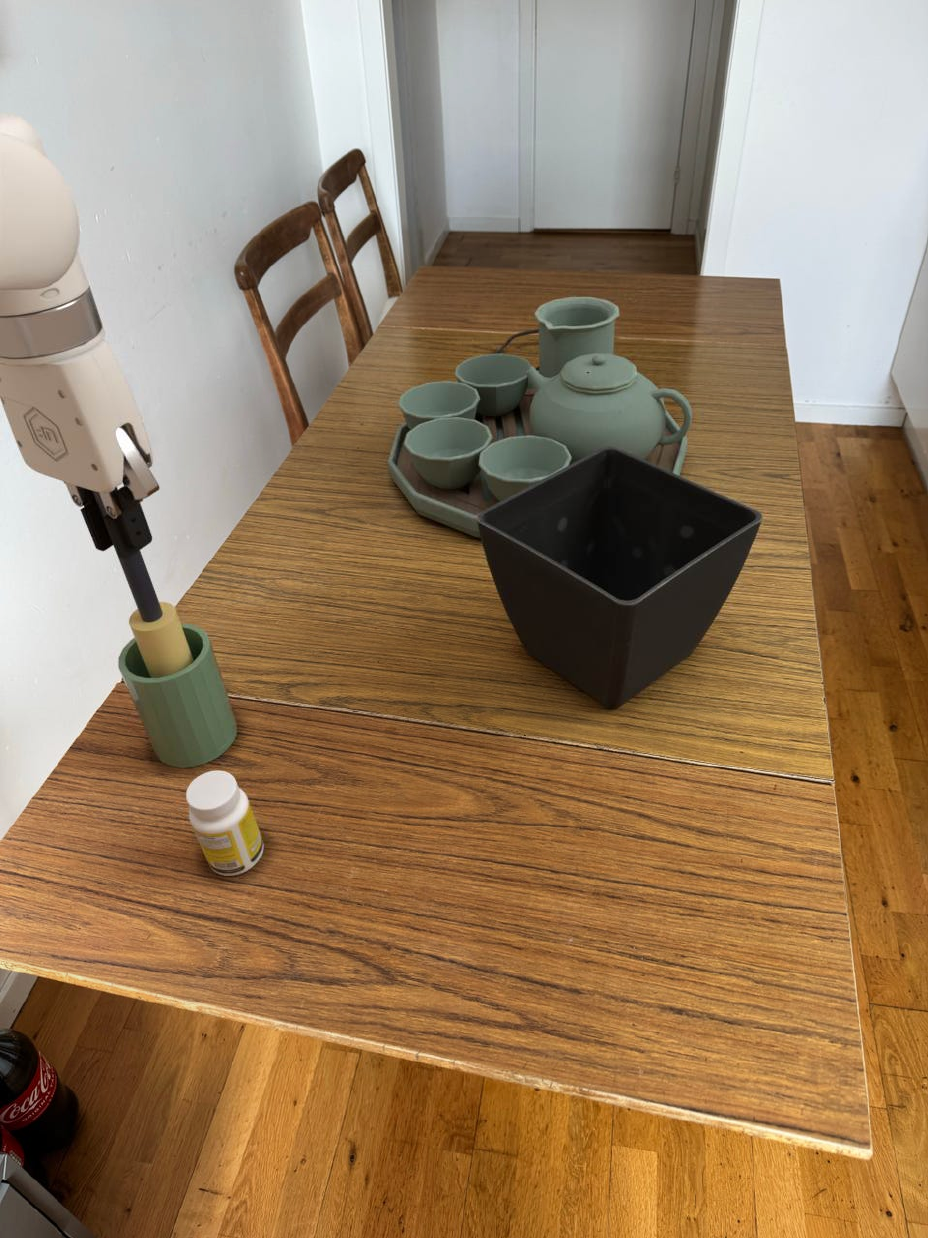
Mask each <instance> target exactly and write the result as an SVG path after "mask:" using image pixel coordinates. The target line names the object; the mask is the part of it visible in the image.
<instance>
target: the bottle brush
mask: <svg viewBox="0 0 928 1238" xmlns="http://www.w3.org/2000/svg"><path fill="white" fill-rule="evenodd" d="M118 489H119V488H118V486H117V487H115V489H114V491H115V494H116V493H117V491H118ZM93 494H94V496H95V499H96V502H97V504H98V507H99V509H100V512H101V515H102V517H104V516H106V515H107V514H108V513H107V512H106V510H105V507H104V504H103V502H102V499H101V496H100V494H99V492H96V491H93ZM103 520H104V519H103ZM104 522H105V521H104ZM105 525H106V524H105ZM106 528H107V527H106ZM107 530H108V529H107ZM108 533H109V532H108ZM109 535H110V534H109ZM110 538H111V537H110ZM112 543H113V542H112ZM112 547H113V548H114V551H115V553H116V556H117V559H118V561H119V563H120V564H119V565H120V567H121V569H122V571H123V574H124V576H125V580H126V582H127V585H128V587H129V589H130V592H131V595H132V598H133V600H134V602H135V605H136V608H137V609H135V610H134V611H133V612H132V613H131V615H130V616H129V619H128V625H129V627H130V630H131V632H132V634H133V636H134V637H133V638H135V640H136V642H137V645H138V647H139V650H140V652H141V655H142V657H143V660H144V662H145V665H146V667H147V670H148V672H149V675H150V676H151V678H160V677H164V676H169V675H172V674H174V673H177V672H179V671H181V670H183V669H185V668H186V667H188V666H189V665H190V664H192V663H193V662H194V660H193V657H192V654H191V652H190V649H189V646H188V643H187V640H186V637H185V634H184V632H183V629H182V626H181V623H182V622H181V621H180V618H179V614H178V612H177V609H176V607H175V606H174V605H173V604H172V603H170V602H168V601H167V602H166V601H159V598H158V595H157V593H156V590H155V587H154V585H153V582H152V579H151V576H150V574H149V572H148V568H147V565H146V563H145V559H144V556H143V555H142V552H141V550H139V551H138V552H136V553H135V554H134V555H132V556H131V557H129V558H128V559H122V558H119V557H118V555H117V552H116V550H115V547H114V545H113V546H112Z"/></svg>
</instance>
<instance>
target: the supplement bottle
mask: <svg viewBox="0 0 928 1238" xmlns="http://www.w3.org/2000/svg"><path fill="white" fill-rule="evenodd" d="M185 799H186V804H187V805H188V809H189V811H188V819H189V822H190V825H191V828H192V830H193V832H194V834H195V837H196V839H197V842H198V843H199V846H200V848H201V850H202V853H203V855H204V858H205V859H206V862H207V864H208V866H209V868H210V869H211V870H212V871H213V872H214V873H216V874H218V875H221V876H224V877H235V876H238V875H242V874H244V873H246V872H247V871H249V870H251V869H252V868H253V867H254V866H255V865H256V864H257V863H258V862H259V861H260V860H261V858H262V856H263V853H264V840H263V837H262V834H261V832H260V828H259V826H258V823H257V820H256V818H255V814H254V812H253V809H252V806H251V804H250V800H249V798H248V795H247V794H246V793H245V792H244V790H242V788H240V787H239V786H238V782H237V780H236V778H235V777H234V775H232V774H231V773H230V772H228V771H225V770H219V769H217V770H210V771H206V772H204V773H202V774H200V775H198V776H197V777H195V778H194V779H193V780H192V781H191V782H190V783H189V785H188V787H187V789H186V791H185Z"/></svg>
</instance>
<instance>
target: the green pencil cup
mask: <svg viewBox="0 0 928 1238" xmlns="http://www.w3.org/2000/svg"><path fill="white" fill-rule="evenodd" d="M180 623H181V626H182V629H183V632H184V634H185V637H186V640H187V643H188V646H189V649H190V652H191V654H192V657H193V660H194V662H193V663H192V664H190V665H189V666H188V667H186V668H185V669H183V670H181V671H179V672H177V673H174V674H172V675H169V676H164V677H160V678H151V676H150V675H149V672H148V670H147V667H146V665H145V662H144V660H143V657H142V655H141V652H140V650H139V647H138V645H137V642H136V640H135V637H133V638H132V639H130V640H129V642H127V643H126V645H124V647H123V648H122V649H121V652H120V654H119V656H118V657H117V658H118V660H117V661H118V662H117V667H118V670H119V673H120V675H121V677H122V680H123V682H124V685H125V686H126V689H127V692H128V693H129V694H128V695H129V696H130V698H131V701H132V703H133V705H134V708H135V711H136V712H137V715H138V717H139V719H140V722H141V724H142V727H143V729H144V732H145V734H146V736H147V738H148V741H149V743H150V745H151V748H152V749H153V751H154V752H153V753H154V754H155V756H156V757H157V759H158V760H159V761H160V762H162V763H164V764H165V765H167V766H169V767H173V768H180V769H182V768H183V769H187V768H188V769H189V768H195V767H199V766H202V765H205V764H208V763H210V762H212V761H214V760H216V759H218V758H219V757H221V756H222V755H223V754H224V753H225V752H227V751H228V749H229V748H230V747H231V746H232V745H233V743H234V741H235V739H236V738H237V733H238V723H237V720H236V715H235V712H234V709H233V707H232V703H231V701H230V697H229V694H228V691H227V688H226V684H225V682H224V679H223V675H222V673H221V670H220V666H219V663H218V660H217V656H216V655H215V652H214V649H213V646H212V645H213V644H212V641H211V639H210V636H209V634H208V633H207V632H206V631H205V630H204V629H202V628H201V627H199V626H197V625H195V624H191V623H186V622H180Z"/></svg>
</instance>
